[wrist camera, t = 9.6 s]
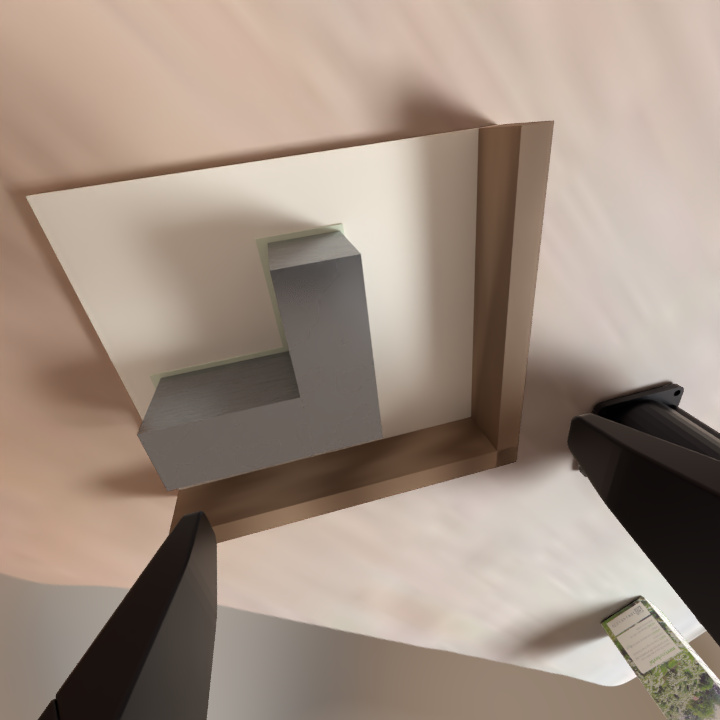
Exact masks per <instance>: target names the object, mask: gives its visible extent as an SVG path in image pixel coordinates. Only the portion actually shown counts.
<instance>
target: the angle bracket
mask: <svg viewBox="0 0 720 720" xmlns="http://www.w3.org/2000/svg"><path fill="white" fill-rule="evenodd" d="M267 244H268V257H269V269H270V274H271V278H272V283H273V287H274V291H275V295H276V299H277V303H278V307H279V311H280V315H281V319H282V323H283V328H284V332H285V336H286V340H287V344H288V348H289V351H286V352H281V353H276V354H272V355H267V356H262V357H258V358H253V359H248V360H243V361H239V362H234V363H229V364H224V365H220V366H215V367H210V368H206V369H201V370H196V371H191V372H187V373H182V374H177V375H172V376H168V377H163V378H161V379H160V381H159V383H158V386H157V388H156V391H155V393H154V395H153V398H152V400H151V402H150V405H149V407H148V410H147V412H146V414H145V417H144V419H143V422H142V424H141V426H140V429H139V431H138V434H137V436H138V437H139V439H140V441H141V443H142V445H143V447H144V449H145V450H146V452H147V454H148V456H149V458H150V460H151V461H152V463H153V465H154V467H155V469H156V471H157V473H158V474H159V476H160V478H161V480H162V482H163V484H164V486H165V487H166V489H167V491H170V490H175V489H179V488H183V487H187V486H191V485H195V484H199V483H203V482H207V481H211V480H215V479H219V478H223V477H227V476H231V475H235V474H239V473H243V472H247V471H251V470H255V469H259V468H263V467H267V466H271V465H275V464H279V463H283V462H287V461H291V460H295V459H299V458H303V457H307V456H311V455H315V454H319V453H323V452H327V451H331V450H335V449H339V448H343V447H347V446H351V445H355V444H359V443H363V442H368V441H372V440H376V439H380V438H383V435H382V426H381V418H380V409H379V401H378V393H377V384H376V376H375V368H374V359H373V351H372V342H371V334H370V326H369V317H368V309H367V300H366V292H365V284H364V275H363V267H362V259H361V253H360V252H359V251H358V250H357V249H356V248H355V247H354V246H353V245H352V244H351V242H350V241H349V240H348V239H347V238H346V237H345V236H344V235H343V234H342V233H341V231H340V230H339V231H334V232H328V233H322V234H316V235H311V236H305V237H299V238H293V239H288V240H282V241H276V242H270V243H267Z"/></svg>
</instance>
